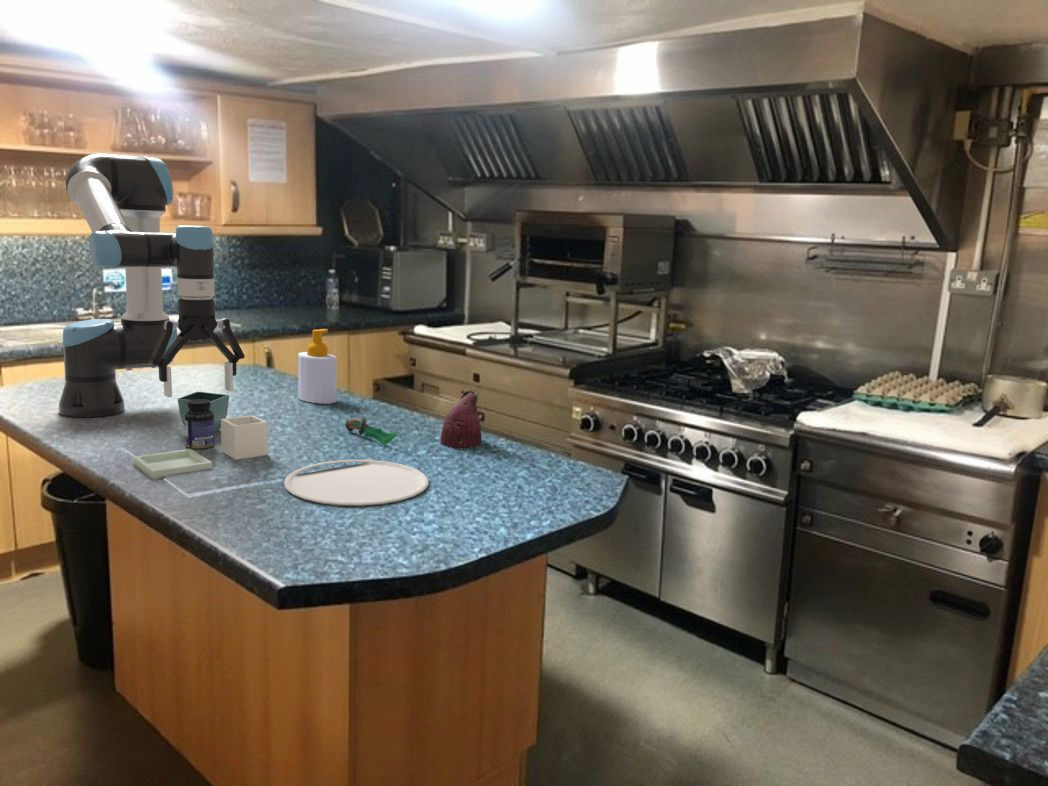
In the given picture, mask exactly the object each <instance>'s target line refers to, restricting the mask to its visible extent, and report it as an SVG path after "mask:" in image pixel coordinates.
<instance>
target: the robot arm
mask: <svg viewBox="0 0 1048 786" xmlns="http://www.w3.org/2000/svg"><path fill="white" fill-rule="evenodd" d="M64 184H65V189H66V193H67V195H68V197H69V198H70V200H71V201H72V202H73V203H74V204H75V205H77V206H79V207H78V208H79V209H80V210H81V213H82V214H83V217H84V219H85V221H86V223H87V225H88V227H89V228H90V230H91V234H90V235H89V241H88V243H89V244H88V245H89V249H88V250H89V255H90V259H91V262H92V264H94V265H95V266H97V267H103V268H104V267H109V268H110V269H111V268H112V269H113V268H125V269H124V270H125V271H124V272H125V290H126V294H125V295H126V311H125V312H124V313H123V314H122V315H121V317H120V321H121V322H120V324H115V322H114V321H113V319H111V318H93V319H86V320H80V321H77V322H76V321H75V322H72V323H69V324H67V325H66V326H65V327H64V329H63V330H62V343H61V344H62V350H63V361H64V363H63V365H64V367H63V368H64V381H65V383H64V386H63V389H62V393H61V395H60V399H59V403H58V412H59V414H60V415H63V416H65V417H71V418H72V417H73V418H98V417H107V416H112V415H113V416H114V415H117V414H119V413H121V412H122V413H123V412H124V411H125V410H126V409H125V408H126V407H125V400H124V398H123V395H122V392H121V390H120V386H119V385H118V382H117V378H116V377H117V376H116V373H117V372H116V371H117V370H128V369H129V370H131V369H145V368H151V369H155V368H158V379H159V381H160V382H161V383H163V394H164V396H165V397H167V398H173V385H172V366H169V365H171V363H173V361H174V359H175V357H176V355H177V354H178V353H179V351H180V350H181V349H182V348H183V346H184V345H185V344H187V343H188V341H191V342H196V341H207V340H209V341H210V342H211V343H213V345H214V346H215V347H216V348H217V349H218V350H219V351H220V353H221V354H222V355H223V356H224V357H225V358H226V359H227V360H225V361H223V362H224V390H226V391H229V392H234V376H236V375H237V374H238V372H237V363H238V362H239V360H241V359H242V360H243V359H245V357H246V356H245V353H244V351H243V350H242V348H241V346H240V343H239V342H238V340H237V338H236V336H235V334H234V332H233V330H232V327H231V321H230V319H228V318H224V317H221V318H220V319H216V300H215V299H214V298H213V297H214V296H215V265H214V264H215V259H214V255H215V252H214V246H215V241H214V234H213V229H212V228H211V227H210V226H202V225H178V226H176V228H175V232H161V225H160V224H161V223H160V222H161V220H160V219H161V217H162V216H163V215H164V214H165V213H166V212H167V211H166V210H167V209H166V206H169V205H171V204H172V203H173V200H174V199H173V198H174V187H173V182H172V177H171V173H170V170H169V169H168V166H167V164H166V163H165V162H164V160H162V159H159V158H156V157H150V156H144V155H142V156H140V155H139V156H138V155H123V154H122V155H121V154H107V153H93V154H92V153H91V154H90V155H86V156H84V157H82V158H80V159H78V160H77V161H76V162H75V163H73V164H72V165H71V167H70V168H69V169H68V171H67V174H66V176H65V183H64ZM162 268H176V276H177V277H176V278H177V279H176V280H177V296H179V299H178V300H177V304H178V305H177V307H178V311H177V312H178V320H177V321H170V316H169V315H168V314H167V313H166V312H165V311H164V305H163V304H164V303H163V278H162V277H163V275H162ZM217 327H218V328H219V329H221V332H222V333H223V335H224V337H225V339H226V341H227V343H228V344H229V347H230V349H231V350H230V349H229V347H227V346H226V345H225V344H224V342H223V341H222V340H221V339H220V337H219V336H218V335H217V334H216V333H215V330H216V328H217ZM178 330H179V331H180V332H179V334H178Z"/></svg>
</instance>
